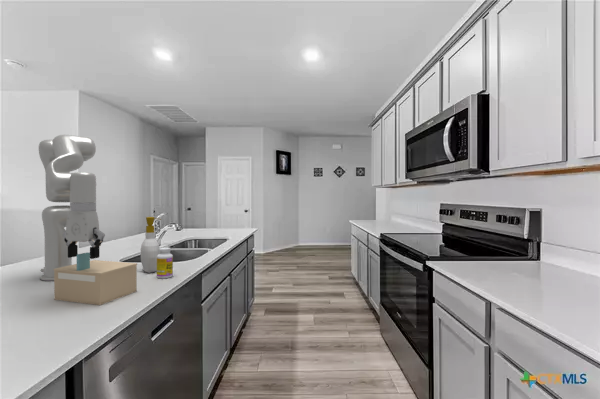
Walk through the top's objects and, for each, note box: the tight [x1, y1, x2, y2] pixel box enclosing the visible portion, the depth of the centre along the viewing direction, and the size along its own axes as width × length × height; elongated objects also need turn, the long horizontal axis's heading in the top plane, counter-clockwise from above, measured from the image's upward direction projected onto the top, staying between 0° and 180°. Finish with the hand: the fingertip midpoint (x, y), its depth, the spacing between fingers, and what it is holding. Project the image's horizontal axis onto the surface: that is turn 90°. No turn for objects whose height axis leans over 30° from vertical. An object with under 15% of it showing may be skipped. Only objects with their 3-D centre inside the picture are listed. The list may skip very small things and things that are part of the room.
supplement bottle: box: [156, 247, 174, 279], centre depth 143 cm, size 7×7×13 cm
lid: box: [54, 252, 138, 275], centre depth 117 cm, size 21×16×6 cm
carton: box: [53, 264, 138, 306], centre depth 117 cm, size 20×16×10 cm
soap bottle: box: [140, 216, 162, 274], centre depth 155 cm, size 14×9×26 cm, turn 34°
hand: (83, 257), depth 111 cm, fingers open, 9 cm apart
